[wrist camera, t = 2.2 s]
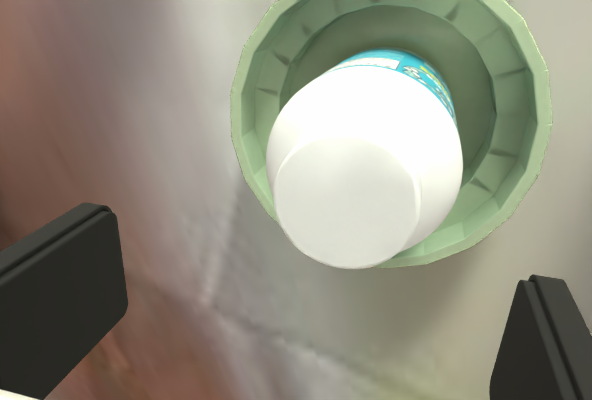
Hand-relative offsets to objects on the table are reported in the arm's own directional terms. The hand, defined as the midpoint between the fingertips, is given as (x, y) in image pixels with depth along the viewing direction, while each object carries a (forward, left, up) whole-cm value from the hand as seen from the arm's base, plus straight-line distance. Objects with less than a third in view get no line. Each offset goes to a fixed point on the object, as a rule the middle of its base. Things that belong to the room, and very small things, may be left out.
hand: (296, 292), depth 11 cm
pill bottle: (0, 0, -18) cm, 18 cm away
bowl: (0, 0, -19) cm, 19 cm away
